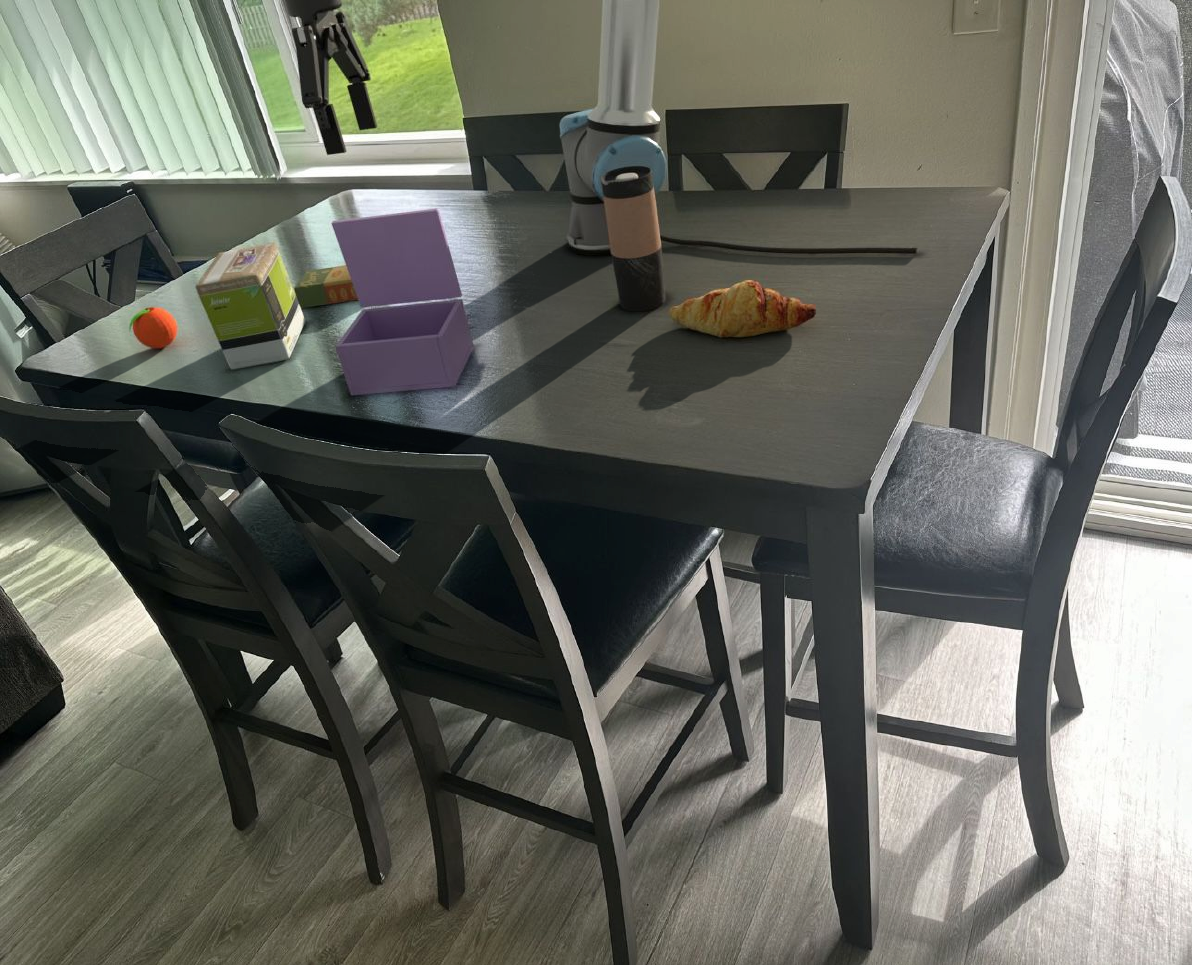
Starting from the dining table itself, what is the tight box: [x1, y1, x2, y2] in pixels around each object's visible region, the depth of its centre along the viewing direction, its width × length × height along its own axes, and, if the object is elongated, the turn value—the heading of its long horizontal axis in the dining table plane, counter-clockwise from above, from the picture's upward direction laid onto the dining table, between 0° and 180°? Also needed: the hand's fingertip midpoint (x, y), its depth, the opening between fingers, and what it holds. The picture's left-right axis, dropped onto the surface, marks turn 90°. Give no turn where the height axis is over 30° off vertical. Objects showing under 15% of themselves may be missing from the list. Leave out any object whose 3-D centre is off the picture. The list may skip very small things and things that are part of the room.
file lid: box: [331, 208, 463, 308], centre depth 134 cm, size 13×16×1 cm
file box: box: [334, 298, 475, 396], centre depth 135 cm, size 13×16×8 cm
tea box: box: [195, 241, 306, 370], centre depth 150 cm, size 15×10×15 cm, turn 5°
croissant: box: [669, 279, 817, 338], centre depth 132 cm, size 21×10×8 cm, turn 70°
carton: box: [293, 264, 359, 309], centre depth 168 cm, size 8×16×4 cm, turn 88°
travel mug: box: [601, 166, 666, 312], centre depth 140 cm, size 8×8×20 cm
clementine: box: [128, 306, 178, 349], centre depth 159 cm, size 8×7×7 cm
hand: (353, 140), depth 138 cm, fingers open, 13 cm apart
